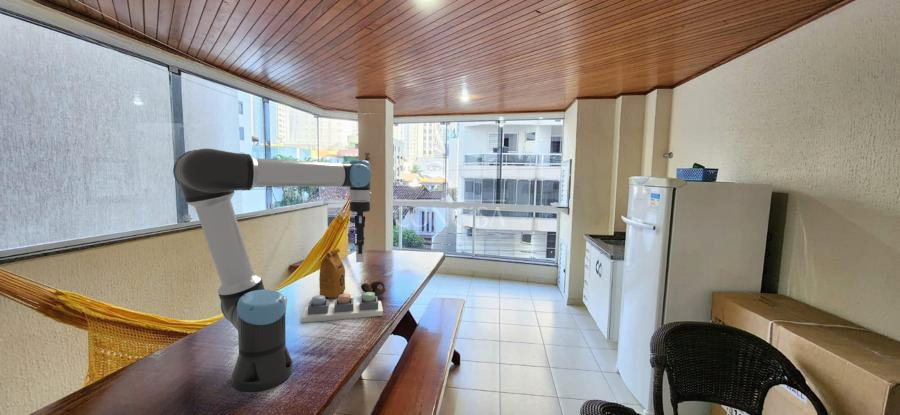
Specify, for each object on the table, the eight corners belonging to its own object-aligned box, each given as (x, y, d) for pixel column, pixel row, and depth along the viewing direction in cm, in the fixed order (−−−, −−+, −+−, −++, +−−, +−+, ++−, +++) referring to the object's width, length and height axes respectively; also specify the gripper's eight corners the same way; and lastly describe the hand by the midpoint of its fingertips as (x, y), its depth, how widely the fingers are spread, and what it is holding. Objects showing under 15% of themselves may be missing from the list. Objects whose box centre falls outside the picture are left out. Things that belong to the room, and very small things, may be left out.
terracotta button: (337, 305, 139) (337, 298, 138) (338, 301, 144) (338, 294, 143) (350, 304, 140) (350, 297, 140) (350, 300, 145) (350, 293, 145)
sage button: (362, 303, 141) (362, 296, 141) (362, 299, 146) (362, 292, 146) (375, 302, 143) (375, 295, 143) (374, 298, 148) (374, 291, 147)
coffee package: (348, 291, 169) (348, 248, 167) (335, 300, 157) (335, 253, 155) (330, 290, 171) (330, 246, 169) (316, 298, 158) (315, 252, 157)
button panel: (302, 322, 132) (302, 310, 132) (306, 310, 144) (306, 299, 143) (382, 315, 141) (383, 303, 140) (380, 305, 152) (380, 294, 152)
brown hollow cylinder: (385, 293, 170) (388, 281, 165) (380, 307, 162) (383, 295, 157) (362, 286, 169) (364, 275, 165) (356, 300, 161) (358, 289, 157)
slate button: (311, 307, 136) (311, 300, 136) (312, 302, 141) (312, 295, 141) (324, 306, 137) (324, 299, 137) (325, 301, 142) (325, 294, 142)
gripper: (371, 203, 121) (371, 265, 123) (368, 199, 141) (368, 252, 143) (349, 203, 119) (349, 266, 120) (350, 199, 139) (349, 253, 141)
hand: (359, 259), depth 132 cm, fingers open, 9 cm apart
